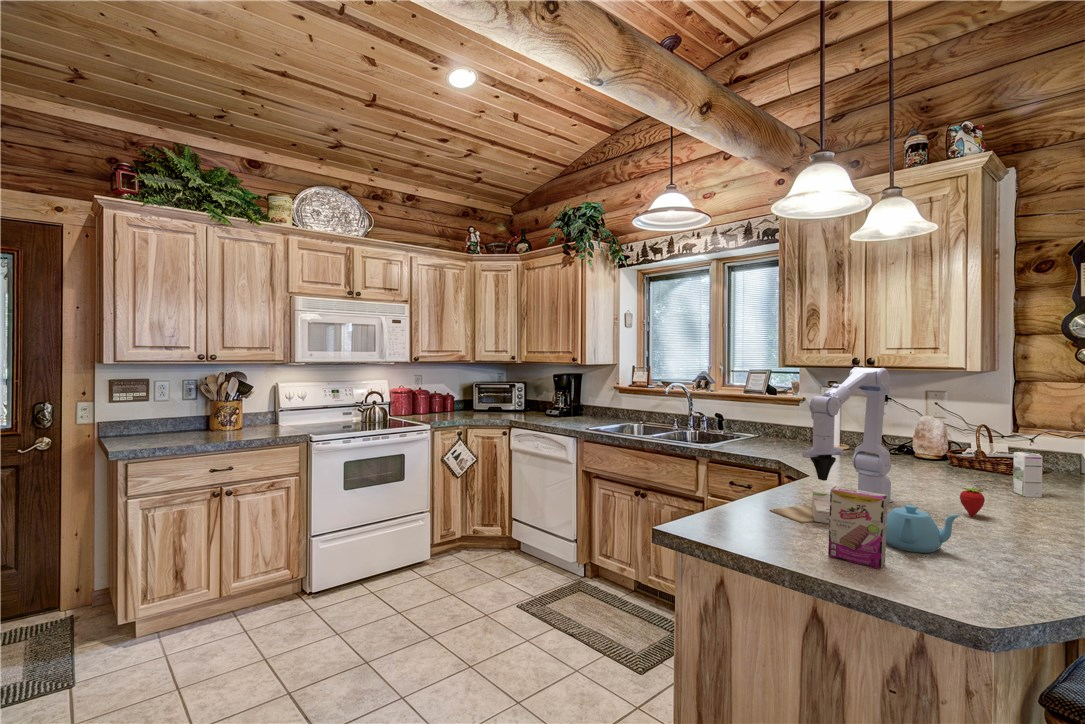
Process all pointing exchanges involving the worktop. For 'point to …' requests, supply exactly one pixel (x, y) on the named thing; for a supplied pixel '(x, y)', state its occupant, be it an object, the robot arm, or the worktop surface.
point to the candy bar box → (858, 526)
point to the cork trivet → (796, 513)
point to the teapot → (916, 530)
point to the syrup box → (1027, 474)
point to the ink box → (821, 507)
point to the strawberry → (972, 500)
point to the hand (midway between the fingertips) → (822, 479)
